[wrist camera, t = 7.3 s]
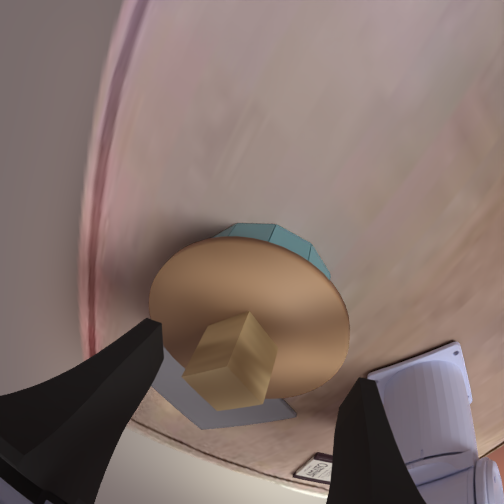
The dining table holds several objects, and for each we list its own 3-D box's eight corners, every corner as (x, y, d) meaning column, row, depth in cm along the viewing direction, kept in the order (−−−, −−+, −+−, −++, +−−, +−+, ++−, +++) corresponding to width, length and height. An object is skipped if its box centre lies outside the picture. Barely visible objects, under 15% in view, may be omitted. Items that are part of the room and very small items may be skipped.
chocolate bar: (399, 492, 35) (292, 477, 37) (399, 487, 36) (293, 471, 37) (435, 471, 30) (317, 455, 32) (435, 466, 31) (318, 449, 33)
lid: (379, 364, 18) (380, 430, 14) (227, 400, 23) (208, 451, 19) (279, 194, 14) (253, 244, 10) (121, 284, 20) (79, 331, 16)
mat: (296, 413, 29) (296, 417, 28) (202, 426, 35) (201, 429, 34) (215, 324, 25) (213, 327, 25) (125, 356, 31) (123, 358, 31)
